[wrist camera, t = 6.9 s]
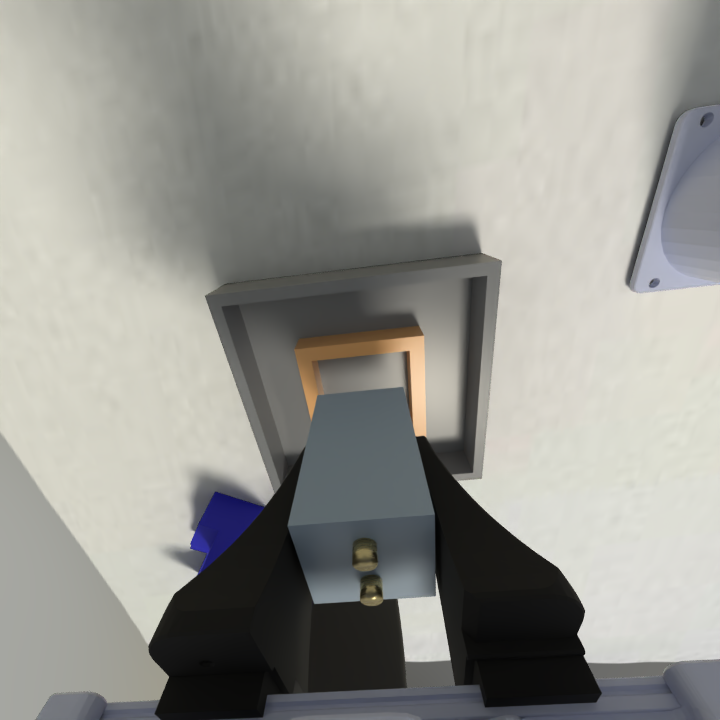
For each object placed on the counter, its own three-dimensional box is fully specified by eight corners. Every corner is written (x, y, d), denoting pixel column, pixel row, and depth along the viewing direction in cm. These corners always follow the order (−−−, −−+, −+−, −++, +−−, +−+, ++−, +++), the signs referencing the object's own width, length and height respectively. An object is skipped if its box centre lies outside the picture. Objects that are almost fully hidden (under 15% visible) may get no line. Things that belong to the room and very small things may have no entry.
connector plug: (403, 386, 14) (439, 532, 8) (407, 452, 16) (439, 614, 9) (317, 395, 14) (283, 544, 8) (331, 459, 16) (312, 622, 10)
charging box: (482, 253, 16) (501, 260, 14) (469, 451, 22) (481, 478, 20) (225, 283, 17) (204, 295, 14) (283, 467, 23) (275, 495, 21)
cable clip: (216, 489, 24) (175, 568, 19) (269, 506, 25) (244, 587, 20) (183, 566, 29) (144, 646, 24) (229, 578, 30) (200, 658, 25)
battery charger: (314, 559, 28) (288, 756, 18) (317, 534, 27) (290, 736, 17) (387, 565, 29) (402, 761, 19) (394, 540, 27) (415, 741, 17)
